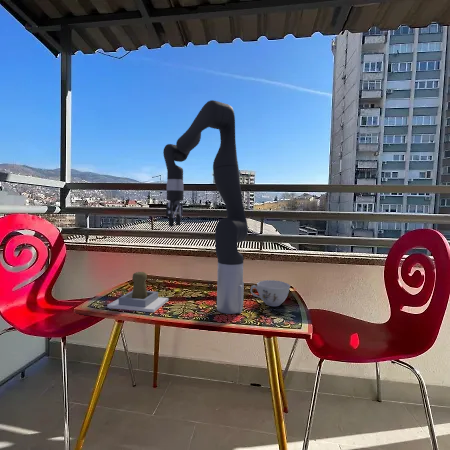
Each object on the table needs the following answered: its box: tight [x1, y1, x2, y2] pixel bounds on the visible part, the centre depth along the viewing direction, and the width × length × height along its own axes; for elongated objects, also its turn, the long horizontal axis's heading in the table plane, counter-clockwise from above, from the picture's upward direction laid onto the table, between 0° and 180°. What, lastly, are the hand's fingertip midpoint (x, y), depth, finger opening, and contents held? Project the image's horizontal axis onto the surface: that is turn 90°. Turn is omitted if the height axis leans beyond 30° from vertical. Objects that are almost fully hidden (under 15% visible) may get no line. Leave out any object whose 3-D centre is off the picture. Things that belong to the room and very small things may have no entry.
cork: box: [131, 271, 148, 299], centre depth 104 cm, size 6×6×11 cm
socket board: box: [106, 289, 169, 313], centre depth 104 cm, size 18×13×4 cm
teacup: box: [249, 279, 291, 307], centre depth 107 cm, size 15×12×8 cm
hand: (174, 225), depth 126 cm, fingers open, 8 cm apart
